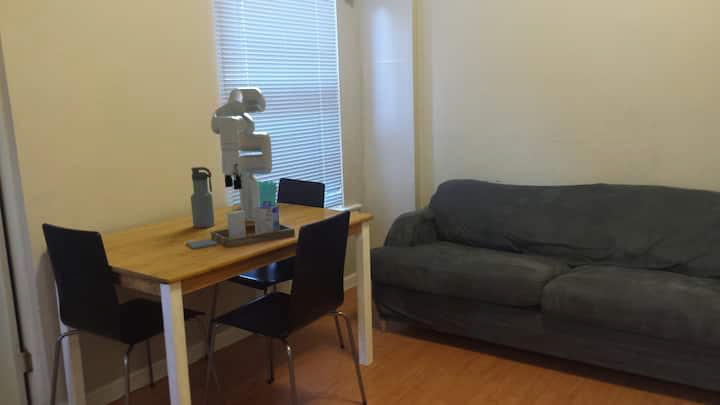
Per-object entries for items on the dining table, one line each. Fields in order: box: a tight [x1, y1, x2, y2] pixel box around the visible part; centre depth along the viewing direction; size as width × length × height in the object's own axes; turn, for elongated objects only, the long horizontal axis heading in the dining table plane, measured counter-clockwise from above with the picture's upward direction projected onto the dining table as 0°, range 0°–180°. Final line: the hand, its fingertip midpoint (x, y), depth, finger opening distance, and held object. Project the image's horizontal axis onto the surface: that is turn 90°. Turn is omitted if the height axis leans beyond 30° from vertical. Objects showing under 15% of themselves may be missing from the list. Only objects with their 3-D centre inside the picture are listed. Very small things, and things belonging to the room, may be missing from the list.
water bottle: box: [190, 166, 215, 229], centre depth 279 cm, size 10×10×28 cm
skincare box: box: [226, 210, 247, 240], centre depth 251 cm, size 6×4×12 cm
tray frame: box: [210, 222, 296, 248], centre depth 256 cm, size 20×30×3 cm, turn 123°
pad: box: [185, 238, 218, 250], centre depth 246 cm, size 10×10×1 cm
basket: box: [257, 180, 278, 207], centre depth 323 cm, size 19×18×13 cm
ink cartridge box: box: [254, 201, 281, 235], centre depth 258 cm, size 10×6×14 cm, turn 65°
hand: (233, 188), depth 248 cm, fingers open, 9 cm apart
